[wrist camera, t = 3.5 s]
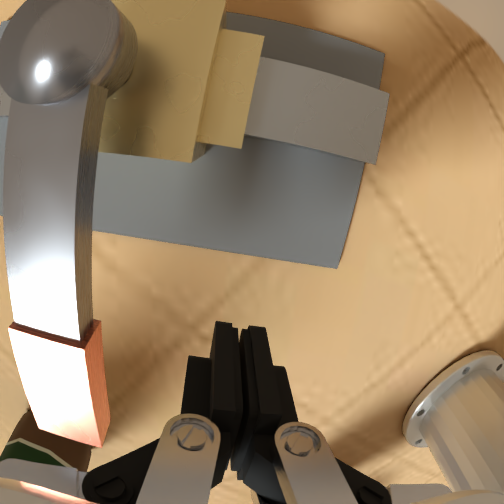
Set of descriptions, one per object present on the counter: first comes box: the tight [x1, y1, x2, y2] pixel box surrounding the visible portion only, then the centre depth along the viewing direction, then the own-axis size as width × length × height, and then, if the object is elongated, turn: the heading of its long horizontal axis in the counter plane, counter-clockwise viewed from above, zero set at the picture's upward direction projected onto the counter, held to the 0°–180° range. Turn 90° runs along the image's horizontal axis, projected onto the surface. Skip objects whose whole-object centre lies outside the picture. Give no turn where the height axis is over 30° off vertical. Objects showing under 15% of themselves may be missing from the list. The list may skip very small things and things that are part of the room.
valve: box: [0, 0, 390, 165], centre depth 11 cm, size 22×6×8 cm, turn 79°
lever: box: [0, 0, 138, 448], centre depth 8 cm, size 15×3×2 cm, turn 169°
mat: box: [0, 12, 385, 269], centre depth 15 cm, size 24×13×1 cm, turn 79°
